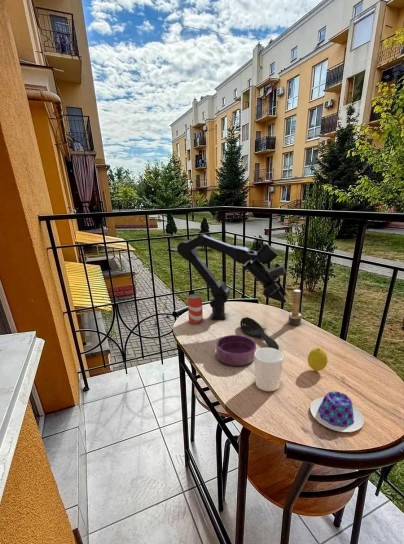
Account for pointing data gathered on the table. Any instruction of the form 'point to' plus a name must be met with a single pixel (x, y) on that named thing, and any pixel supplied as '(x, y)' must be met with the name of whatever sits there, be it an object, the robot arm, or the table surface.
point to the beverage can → (195, 309)
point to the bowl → (235, 350)
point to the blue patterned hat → (337, 412)
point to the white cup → (268, 368)
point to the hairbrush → (256, 331)
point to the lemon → (317, 359)
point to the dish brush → (295, 309)
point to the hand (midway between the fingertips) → (285, 298)
